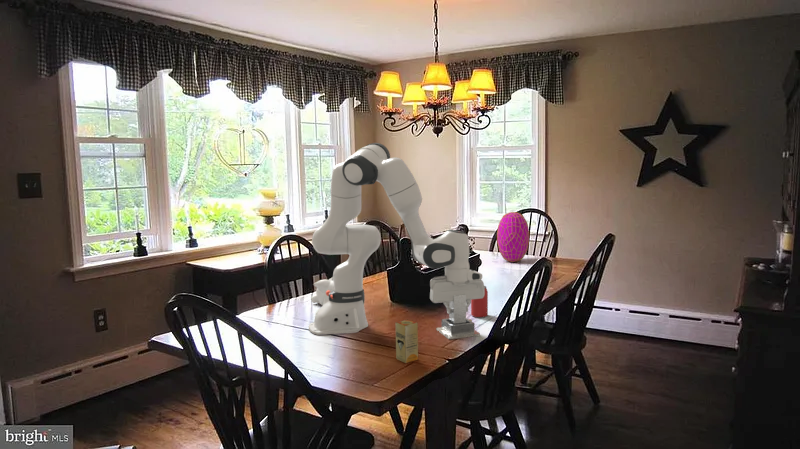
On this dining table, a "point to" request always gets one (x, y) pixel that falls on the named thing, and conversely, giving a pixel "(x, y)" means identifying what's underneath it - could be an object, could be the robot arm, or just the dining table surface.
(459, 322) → the white rectangular block
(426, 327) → the dining table surface
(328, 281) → the fox head
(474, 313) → the beer can
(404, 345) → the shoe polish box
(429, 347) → the dining table surface
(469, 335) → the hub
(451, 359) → the dining table surface
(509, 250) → the decorative egg
